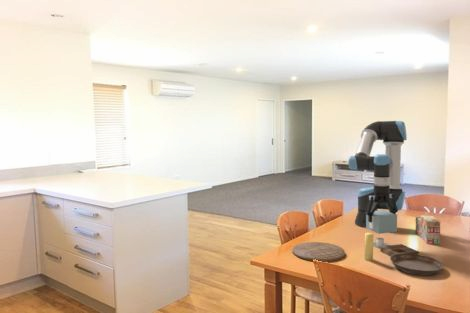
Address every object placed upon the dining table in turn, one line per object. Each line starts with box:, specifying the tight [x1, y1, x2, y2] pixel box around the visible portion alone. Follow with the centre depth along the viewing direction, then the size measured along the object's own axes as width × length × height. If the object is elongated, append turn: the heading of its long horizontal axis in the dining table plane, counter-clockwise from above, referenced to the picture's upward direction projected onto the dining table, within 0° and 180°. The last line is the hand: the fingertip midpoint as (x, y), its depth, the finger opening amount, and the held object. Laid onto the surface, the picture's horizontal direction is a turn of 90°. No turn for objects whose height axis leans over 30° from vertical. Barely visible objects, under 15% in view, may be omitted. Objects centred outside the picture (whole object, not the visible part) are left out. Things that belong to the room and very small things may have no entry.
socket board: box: [379, 243, 420, 257], centre depth 178 cm, size 12×12×2 cm
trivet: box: [291, 241, 346, 263], centre depth 182 cm, size 25×25×2 cm
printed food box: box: [415, 215, 441, 245], centre depth 202 cm, size 21×6×12 cm, turn 169°
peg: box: [364, 232, 374, 262], centre depth 171 cm, size 4×4×12 cm
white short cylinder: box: [373, 237, 390, 249], centre depth 191 cm, size 8×8×4 cm
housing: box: [365, 209, 398, 235], centre depth 191 cm, size 11×11×9 cm
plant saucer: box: [389, 254, 444, 276], centre depth 160 cm, size 21×21×3 cm
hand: (381, 227), depth 191 cm, fingers closed on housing, 11 cm apart
